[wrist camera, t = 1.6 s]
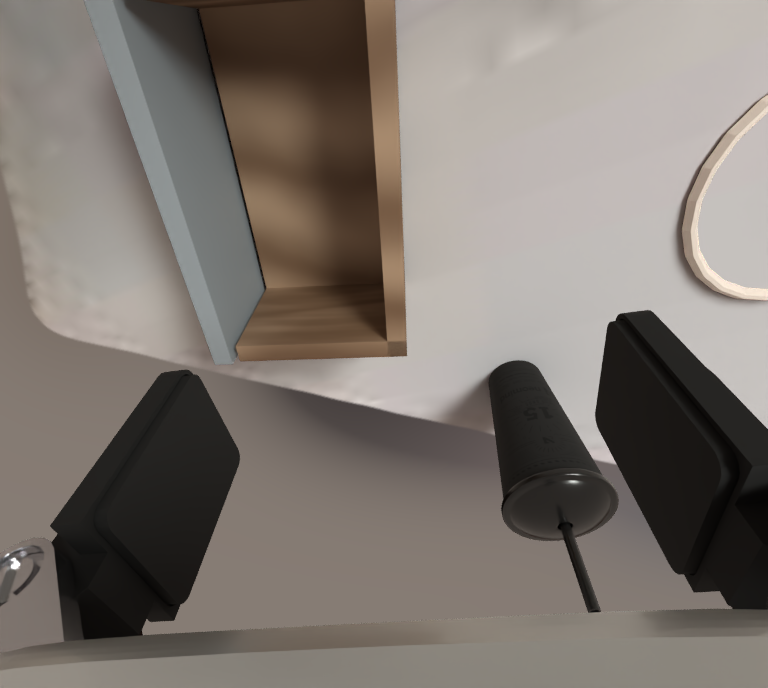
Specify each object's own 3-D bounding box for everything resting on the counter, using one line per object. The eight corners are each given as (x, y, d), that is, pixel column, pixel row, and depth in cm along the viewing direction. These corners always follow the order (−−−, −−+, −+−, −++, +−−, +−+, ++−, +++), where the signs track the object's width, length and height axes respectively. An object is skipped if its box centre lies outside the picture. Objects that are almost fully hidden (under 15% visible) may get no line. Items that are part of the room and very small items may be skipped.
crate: (198, -18, 24) (112, -42, 17) (393, -33, 24) (392, -66, 16) (272, 295, 36) (240, 361, 28) (405, 290, 35) (406, 356, 28)
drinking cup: (563, 397, 41) (670, 630, 25) (485, 418, 43) (538, 647, 27) (549, 336, 37) (666, 566, 21) (464, 361, 39) (511, 591, 23)
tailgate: (169, -16, 24) (69, -40, 17) (190, -17, 24) (98, -43, 17) (252, 297, 36) (215, 364, 28) (267, 297, 36) (232, 364, 28)
